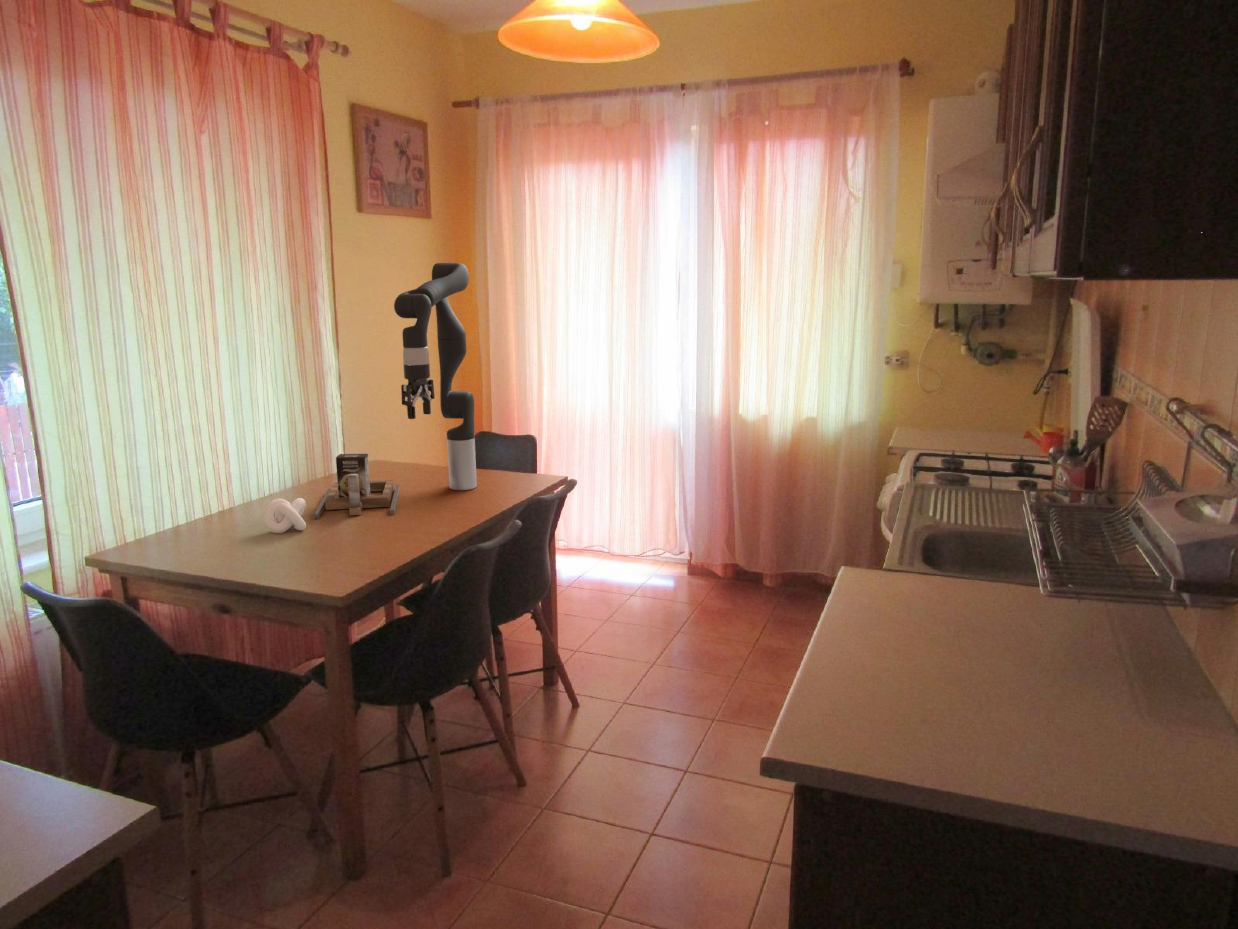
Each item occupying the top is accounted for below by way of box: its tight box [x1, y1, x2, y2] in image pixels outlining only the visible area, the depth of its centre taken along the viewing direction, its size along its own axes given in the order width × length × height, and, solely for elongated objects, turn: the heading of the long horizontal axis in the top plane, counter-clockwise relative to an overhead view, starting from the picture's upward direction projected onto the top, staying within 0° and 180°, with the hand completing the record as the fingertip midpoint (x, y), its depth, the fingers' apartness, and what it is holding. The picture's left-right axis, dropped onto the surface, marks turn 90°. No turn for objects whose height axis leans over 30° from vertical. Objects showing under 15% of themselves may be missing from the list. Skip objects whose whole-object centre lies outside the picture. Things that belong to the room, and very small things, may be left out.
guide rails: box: [313, 484, 401, 520], centre depth 277 cm, size 32×23×2 cm
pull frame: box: [325, 474, 394, 516], centre depth 277 cm, size 32×19×12 cm, turn 11°
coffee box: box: [335, 453, 371, 498], centre depth 275 cm, size 9×6×16 cm
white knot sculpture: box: [263, 497, 307, 534], centre depth 248 cm, size 11×12×9 cm
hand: (419, 416), depth 259 cm, fingers open, 8 cm apart
